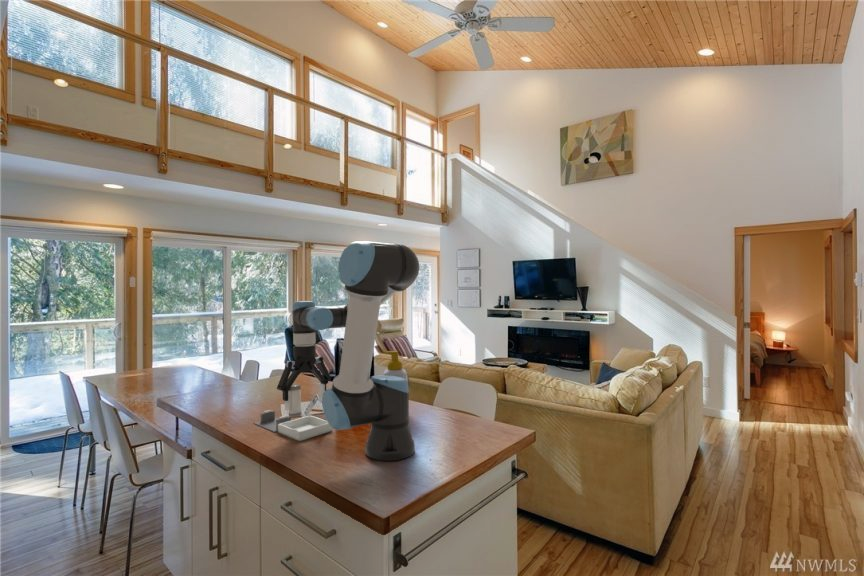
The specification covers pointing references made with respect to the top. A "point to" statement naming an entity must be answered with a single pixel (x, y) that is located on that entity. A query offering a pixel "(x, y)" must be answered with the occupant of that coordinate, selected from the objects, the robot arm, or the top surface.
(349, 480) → the top surface
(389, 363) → the soap bottle
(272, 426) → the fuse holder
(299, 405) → the cylinder
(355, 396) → the robot arm
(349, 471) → the top surface
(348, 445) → the top surface
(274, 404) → the top surface
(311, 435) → the parts tray
